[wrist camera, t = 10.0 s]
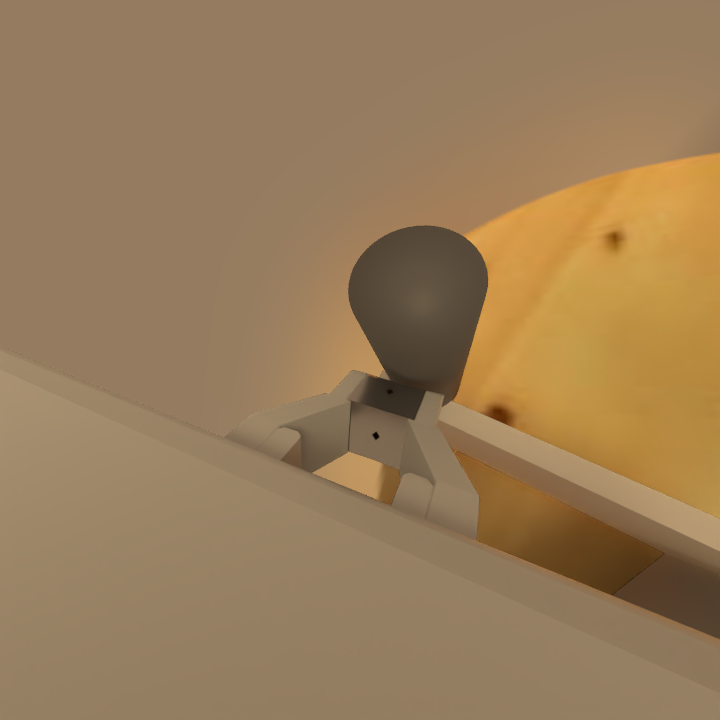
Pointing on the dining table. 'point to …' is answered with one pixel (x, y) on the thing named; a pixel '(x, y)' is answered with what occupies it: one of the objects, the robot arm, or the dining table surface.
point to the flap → (474, 430)
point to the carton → (677, 593)
